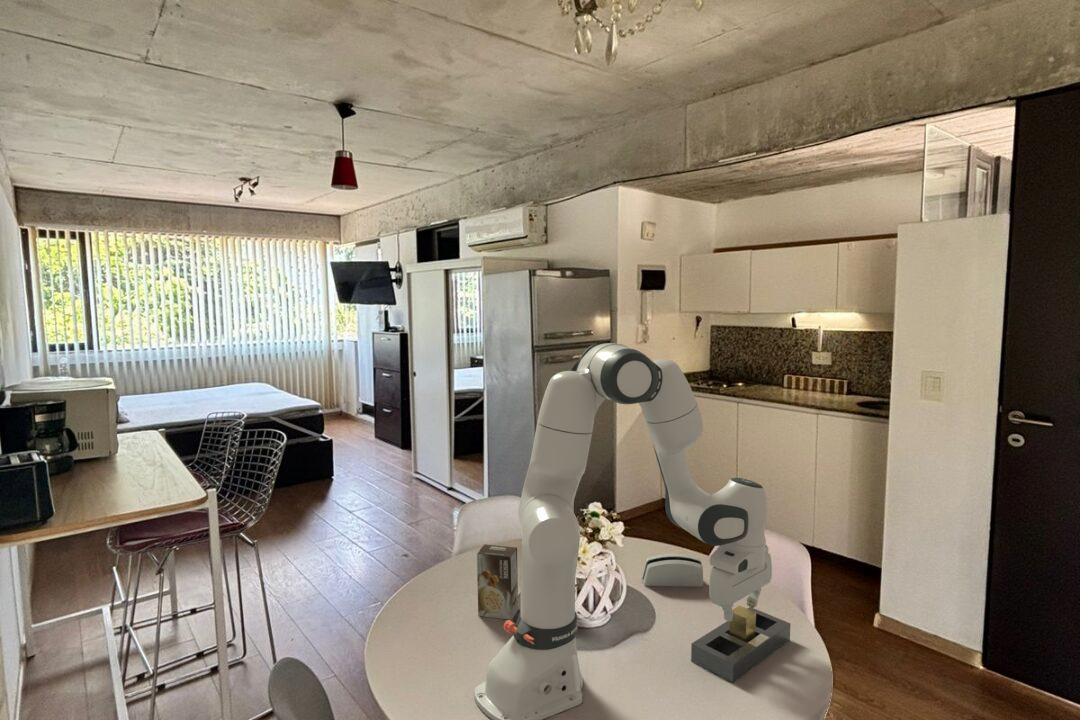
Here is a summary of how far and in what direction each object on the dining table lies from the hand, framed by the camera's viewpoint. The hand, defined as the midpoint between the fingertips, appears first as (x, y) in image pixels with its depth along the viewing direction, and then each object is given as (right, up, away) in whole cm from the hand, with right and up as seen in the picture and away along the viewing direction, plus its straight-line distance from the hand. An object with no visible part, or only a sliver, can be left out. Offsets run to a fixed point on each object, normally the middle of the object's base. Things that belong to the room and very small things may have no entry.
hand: (740, 612), depth 130 cm
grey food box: (-55, -8, +18) cm, 58 cm away
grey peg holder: (+1, -9, +1) cm, 9 cm away
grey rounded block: (-8, -7, +33) cm, 34 cm away
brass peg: (0, -9, +1) cm, 9 cm away
